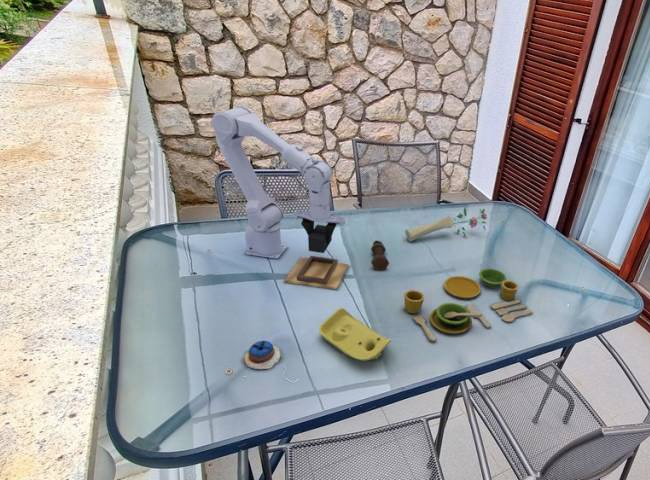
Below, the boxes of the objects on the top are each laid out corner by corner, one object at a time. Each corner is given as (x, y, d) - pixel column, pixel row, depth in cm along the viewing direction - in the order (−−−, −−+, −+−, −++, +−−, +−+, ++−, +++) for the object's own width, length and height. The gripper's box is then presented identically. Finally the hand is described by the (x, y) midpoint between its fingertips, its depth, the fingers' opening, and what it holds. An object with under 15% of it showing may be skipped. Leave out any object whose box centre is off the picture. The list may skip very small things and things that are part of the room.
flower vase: (407, 252, 171) (477, 226, 189) (420, 259, 162) (493, 231, 179) (399, 225, 166) (473, 201, 183) (412, 230, 157) (488, 205, 174)
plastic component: (315, 329, 109) (343, 303, 114) (327, 344, 115) (354, 318, 120) (365, 366, 101) (394, 335, 106) (376, 379, 107) (403, 350, 111)
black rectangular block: (308, 251, 131) (308, 236, 128) (317, 238, 138) (317, 224, 136) (323, 253, 132) (323, 239, 129) (331, 240, 139) (331, 226, 136)
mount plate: (284, 282, 127) (284, 275, 125) (301, 259, 138) (300, 253, 137) (336, 289, 129) (336, 283, 128) (348, 266, 141) (348, 260, 140)
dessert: (248, 343, 103) (262, 330, 101) (274, 355, 106) (287, 342, 105) (236, 368, 97) (250, 355, 95) (264, 380, 100) (278, 367, 98)
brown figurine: (379, 252, 156) (382, 273, 144) (367, 246, 153) (368, 266, 141) (388, 240, 154) (391, 261, 143) (376, 234, 151) (378, 254, 140)
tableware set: (427, 345, 118) (430, 328, 114) (388, 291, 134) (389, 274, 131) (537, 315, 142) (542, 300, 139) (492, 272, 159) (496, 258, 156)
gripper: (347, 201, 132) (347, 239, 139) (298, 193, 129) (300, 232, 136) (341, 210, 126) (341, 249, 133) (290, 202, 123) (293, 242, 130)
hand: (320, 241), depth 134 cm, fingers closed on black rectangular block, 4 cm apart
